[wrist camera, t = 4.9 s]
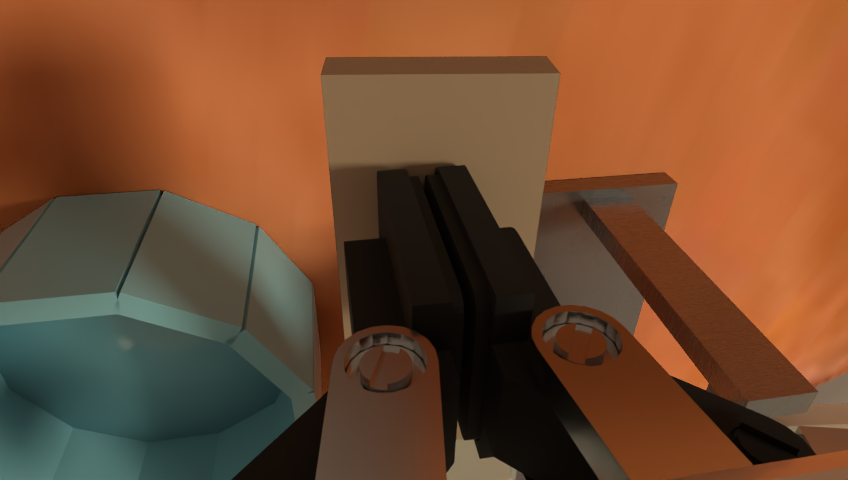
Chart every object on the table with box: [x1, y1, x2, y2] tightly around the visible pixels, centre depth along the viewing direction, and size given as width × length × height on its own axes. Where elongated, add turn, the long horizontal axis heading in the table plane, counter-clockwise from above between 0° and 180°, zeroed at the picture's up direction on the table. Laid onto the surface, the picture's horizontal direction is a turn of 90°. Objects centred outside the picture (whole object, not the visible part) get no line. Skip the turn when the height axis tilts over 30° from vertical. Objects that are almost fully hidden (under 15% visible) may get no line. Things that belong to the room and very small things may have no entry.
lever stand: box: [534, 173, 818, 418], centre depth 22 cm, size 6×12×12 cm, turn 0°
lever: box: [321, 56, 848, 480], centre depth 15 cm, size 22×18×3 cm
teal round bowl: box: [0, 190, 322, 480], centre depth 22 cm, size 14×14×6 cm
